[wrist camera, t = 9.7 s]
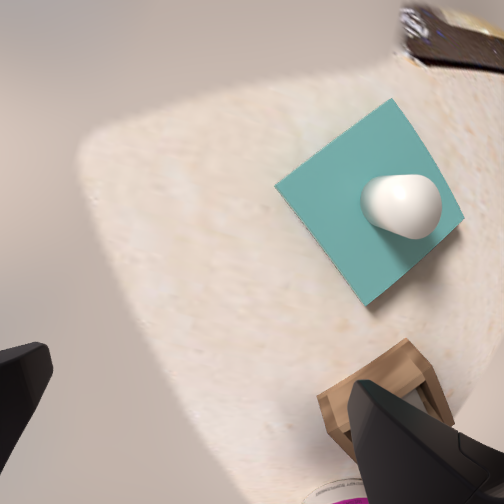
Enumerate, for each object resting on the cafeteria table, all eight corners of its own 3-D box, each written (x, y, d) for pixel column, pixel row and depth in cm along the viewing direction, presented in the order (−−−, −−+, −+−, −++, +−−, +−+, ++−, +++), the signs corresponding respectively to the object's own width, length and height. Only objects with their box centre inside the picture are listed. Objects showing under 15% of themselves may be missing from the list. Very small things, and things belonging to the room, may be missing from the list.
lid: (379, 105, 17) (423, 79, 12) (448, 214, 19) (503, 226, 13) (272, 185, 19) (282, 185, 13) (355, 295, 20) (390, 335, 14)
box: (404, 335, 21) (432, 365, 16) (432, 394, 22) (454, 423, 18) (316, 394, 22) (327, 433, 17) (357, 442, 23) (370, 477, 19)
